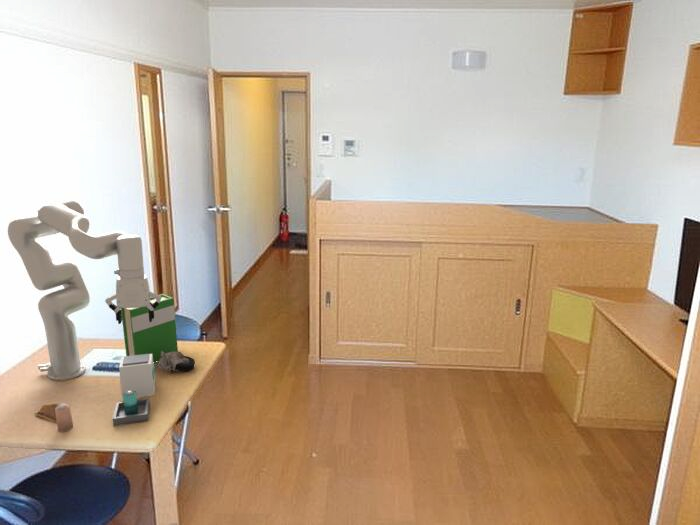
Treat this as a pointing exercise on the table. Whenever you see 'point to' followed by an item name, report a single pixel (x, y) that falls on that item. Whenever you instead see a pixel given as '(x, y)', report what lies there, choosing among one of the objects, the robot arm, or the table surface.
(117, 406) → the tray
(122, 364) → the unit
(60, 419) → the terracotta cartridge
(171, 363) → the caster wheel
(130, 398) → the cylinder
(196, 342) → the table surface
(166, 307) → the hardback book
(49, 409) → the shard
